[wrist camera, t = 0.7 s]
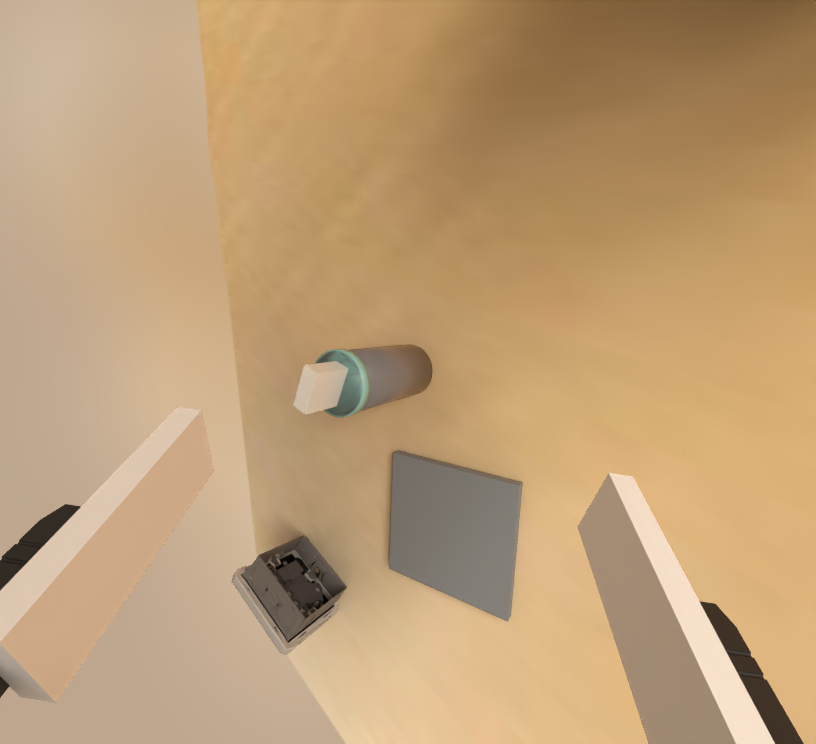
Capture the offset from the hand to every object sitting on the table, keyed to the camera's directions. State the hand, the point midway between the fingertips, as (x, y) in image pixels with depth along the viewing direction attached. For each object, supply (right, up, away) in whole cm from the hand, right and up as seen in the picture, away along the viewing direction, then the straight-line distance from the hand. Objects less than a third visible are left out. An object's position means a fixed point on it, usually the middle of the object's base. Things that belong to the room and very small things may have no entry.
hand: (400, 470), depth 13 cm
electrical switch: (-10, -19, +32) cm, 39 cm away
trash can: (0, +3, +23) cm, 23 cm away
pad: (+4, -11, +22) cm, 25 cm away
